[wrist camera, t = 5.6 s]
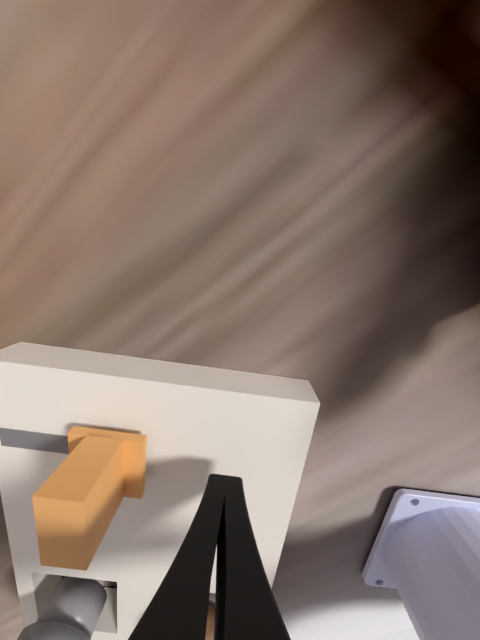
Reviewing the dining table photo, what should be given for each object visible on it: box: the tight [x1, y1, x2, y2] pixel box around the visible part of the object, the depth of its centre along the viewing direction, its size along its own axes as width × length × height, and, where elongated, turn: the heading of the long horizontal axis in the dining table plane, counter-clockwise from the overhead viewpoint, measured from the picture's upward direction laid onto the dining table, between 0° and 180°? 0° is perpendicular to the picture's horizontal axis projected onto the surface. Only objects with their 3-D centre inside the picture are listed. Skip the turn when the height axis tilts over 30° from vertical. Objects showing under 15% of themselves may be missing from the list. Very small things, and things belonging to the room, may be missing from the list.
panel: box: [0, 342, 320, 640], centre depth 14 cm, size 15×20×2 cm
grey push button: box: [17, 576, 107, 640], centre depth 13 cm, size 4×4×4 cm
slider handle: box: [32, 426, 147, 571], centre depth 9 cm, size 3×3×3 cm
